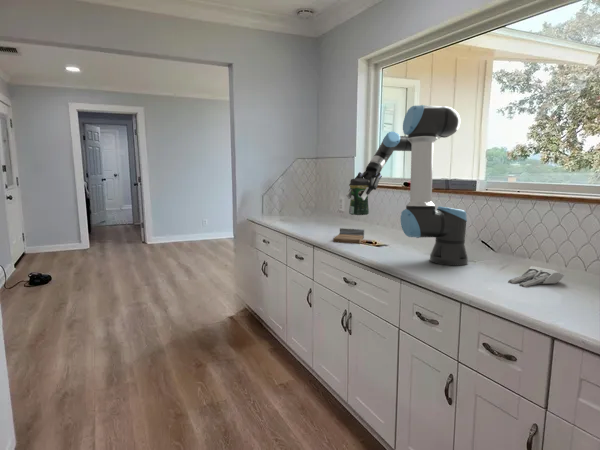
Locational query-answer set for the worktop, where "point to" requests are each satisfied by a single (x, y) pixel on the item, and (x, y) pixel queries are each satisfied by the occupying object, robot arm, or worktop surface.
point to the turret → (538, 277)
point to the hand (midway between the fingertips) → (355, 197)
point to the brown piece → (350, 236)
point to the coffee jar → (358, 197)
